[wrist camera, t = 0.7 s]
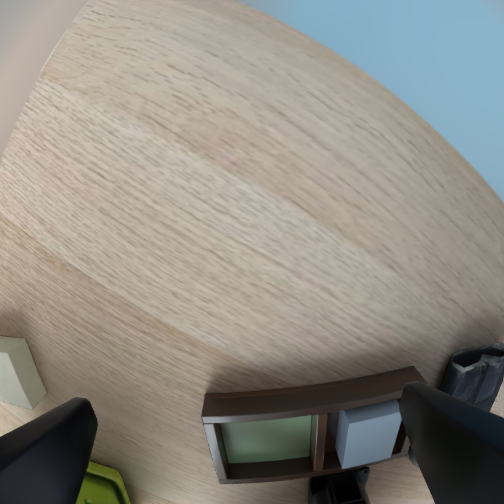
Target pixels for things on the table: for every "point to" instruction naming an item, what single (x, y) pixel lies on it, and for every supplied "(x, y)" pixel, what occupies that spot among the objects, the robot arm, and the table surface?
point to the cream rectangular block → (19, 374)
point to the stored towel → (367, 433)
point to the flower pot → (102, 486)
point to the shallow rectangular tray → (292, 427)
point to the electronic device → (474, 377)
